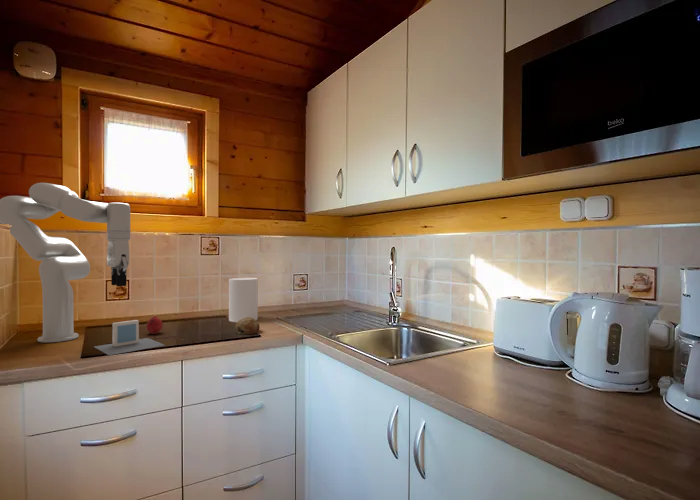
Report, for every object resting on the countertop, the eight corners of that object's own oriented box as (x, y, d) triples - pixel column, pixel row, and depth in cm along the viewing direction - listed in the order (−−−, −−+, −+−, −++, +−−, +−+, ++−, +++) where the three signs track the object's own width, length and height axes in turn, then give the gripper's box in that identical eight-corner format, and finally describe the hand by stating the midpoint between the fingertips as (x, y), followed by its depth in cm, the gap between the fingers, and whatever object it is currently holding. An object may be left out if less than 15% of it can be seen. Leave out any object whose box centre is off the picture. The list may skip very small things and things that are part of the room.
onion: (156, 336, 156) (156, 316, 156) (143, 336, 158) (143, 316, 158) (165, 333, 162) (165, 314, 162) (153, 333, 163) (153, 313, 163)
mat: (93, 348, 139) (93, 346, 139) (147, 339, 152) (147, 337, 152) (108, 357, 128) (108, 355, 128) (165, 346, 141) (165, 345, 141)
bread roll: (233, 341, 165) (228, 325, 161) (244, 326, 174) (240, 311, 170) (254, 343, 162) (250, 327, 159) (265, 327, 171) (261, 312, 168)
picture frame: (112, 345, 141) (112, 322, 140) (136, 341, 146) (136, 319, 146) (114, 346, 139) (114, 323, 139) (138, 342, 145) (138, 320, 145)
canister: (234, 316, 201) (234, 277, 201) (260, 317, 200) (260, 277, 200) (224, 322, 187) (224, 279, 187) (253, 322, 187) (253, 279, 187)
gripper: (100, 236, 150) (100, 284, 150) (115, 235, 139) (115, 288, 139) (121, 236, 156) (121, 283, 156) (138, 236, 144) (138, 286, 144)
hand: (118, 284), depth 147 cm, fingers open, 4 cm apart
